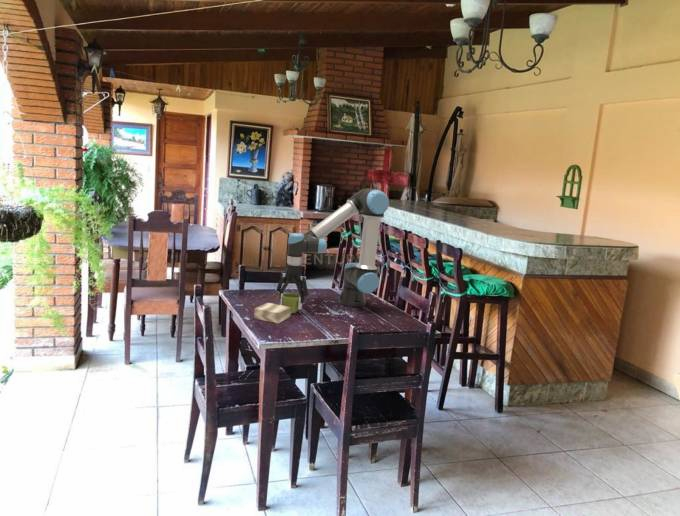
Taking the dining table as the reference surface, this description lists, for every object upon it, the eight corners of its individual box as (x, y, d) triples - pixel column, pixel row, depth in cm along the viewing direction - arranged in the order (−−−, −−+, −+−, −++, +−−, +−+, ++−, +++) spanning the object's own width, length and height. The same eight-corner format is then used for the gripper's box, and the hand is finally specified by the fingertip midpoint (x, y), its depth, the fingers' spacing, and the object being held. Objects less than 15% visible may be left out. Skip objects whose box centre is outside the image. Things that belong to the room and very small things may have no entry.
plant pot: (296, 315, 264) (298, 299, 262) (278, 313, 266) (280, 296, 264) (301, 311, 273) (303, 294, 272) (284, 308, 275) (285, 292, 273)
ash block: (290, 316, 261) (290, 307, 260) (277, 323, 249) (278, 313, 248) (267, 312, 266) (267, 302, 265) (253, 318, 254) (254, 308, 253)
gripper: (271, 262, 265) (268, 305, 269) (311, 268, 258) (307, 312, 262) (278, 259, 272) (275, 301, 276) (317, 266, 265) (313, 309, 269)
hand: (290, 307), depth 269 cm, fingers closed on plant pot, 9 cm apart
